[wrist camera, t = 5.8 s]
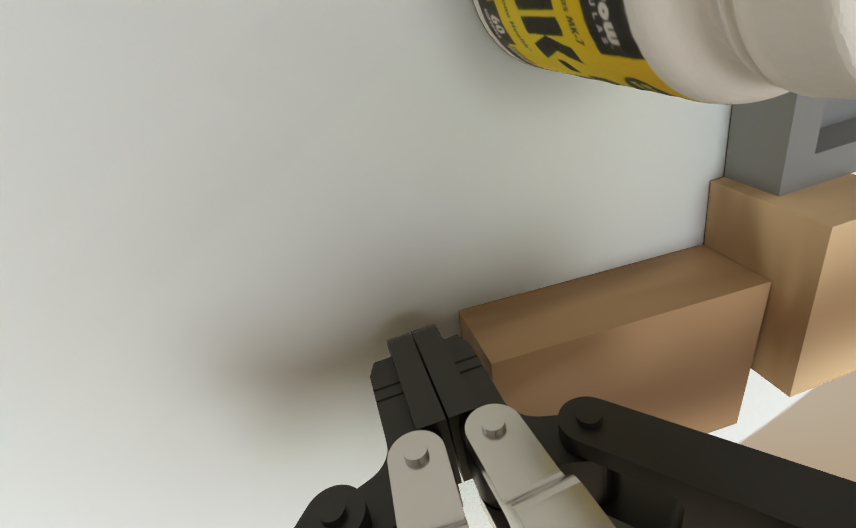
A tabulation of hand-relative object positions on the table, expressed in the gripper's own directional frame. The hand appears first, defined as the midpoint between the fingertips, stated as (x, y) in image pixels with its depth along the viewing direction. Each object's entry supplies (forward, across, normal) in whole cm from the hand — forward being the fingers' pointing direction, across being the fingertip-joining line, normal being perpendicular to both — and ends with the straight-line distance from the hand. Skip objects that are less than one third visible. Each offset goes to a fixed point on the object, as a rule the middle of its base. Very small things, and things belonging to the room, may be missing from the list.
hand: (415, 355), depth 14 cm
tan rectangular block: (+1, -12, +1) cm, 12 cm away
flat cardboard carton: (+1, -6, +3) cm, 7 cm away
